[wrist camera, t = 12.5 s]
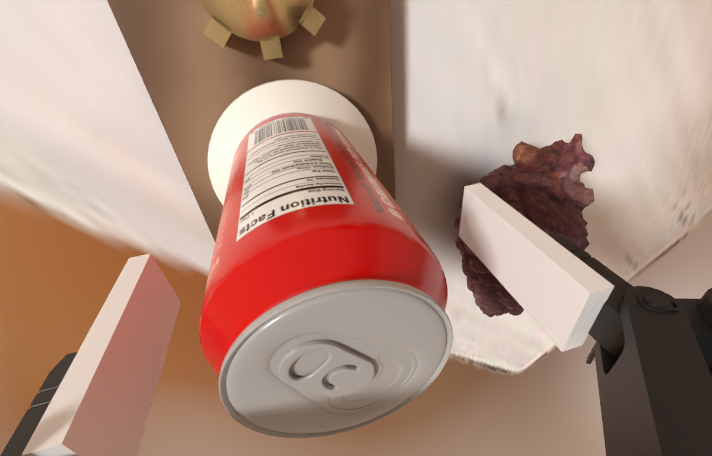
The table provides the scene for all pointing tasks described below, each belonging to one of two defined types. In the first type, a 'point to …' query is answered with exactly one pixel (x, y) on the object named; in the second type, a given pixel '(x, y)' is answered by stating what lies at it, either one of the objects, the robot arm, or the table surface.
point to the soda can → (318, 288)
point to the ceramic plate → (277, 101)
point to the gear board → (255, 74)
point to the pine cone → (533, 209)
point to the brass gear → (260, 21)
